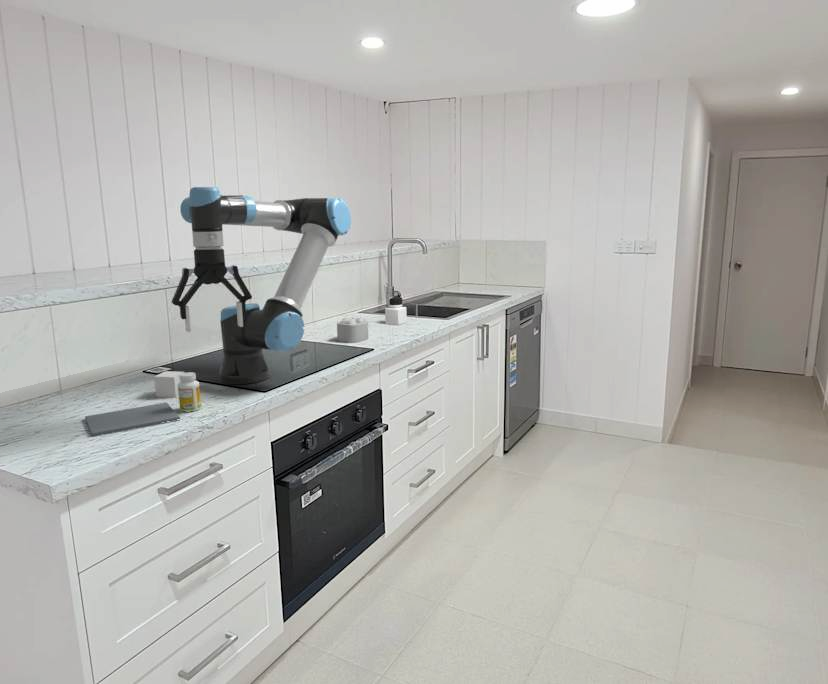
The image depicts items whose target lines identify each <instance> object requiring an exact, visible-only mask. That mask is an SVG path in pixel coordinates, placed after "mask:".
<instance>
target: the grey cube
mask: <svg viewBox="0 0 828 684" xmlns="http://www.w3.org/2000/svg"><path fill="white" fill-rule="evenodd" d="M182 373H185V371H173V370H171V371H169V370H165V371H163V372H161V373H159V374H157V375H154V378H153V379H154V388H155V389H154V390H155V396H157V397H158V398H159V397H161V398H177V397H179V394H178V384H179V383H180V382H181V381H180V374H182Z"/></svg>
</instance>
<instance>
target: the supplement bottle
mask: <svg viewBox="0 0 828 684" xmlns="http://www.w3.org/2000/svg"><path fill="white" fill-rule="evenodd" d="M196 379H197V375H196V372H191V371H190V372H184V373H182V374H180V381H181V382H180V383H179V384H178V394H179V396H178V403H179V410H180V411H181V412H182V411H185V412H184V413H191V412H190V411H194V412H196V410H197V411H199V410H201V409H202V402H201V401H202V400H201V399H202V398H201V389H200V382H199V381H198V380H196Z"/></svg>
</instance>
